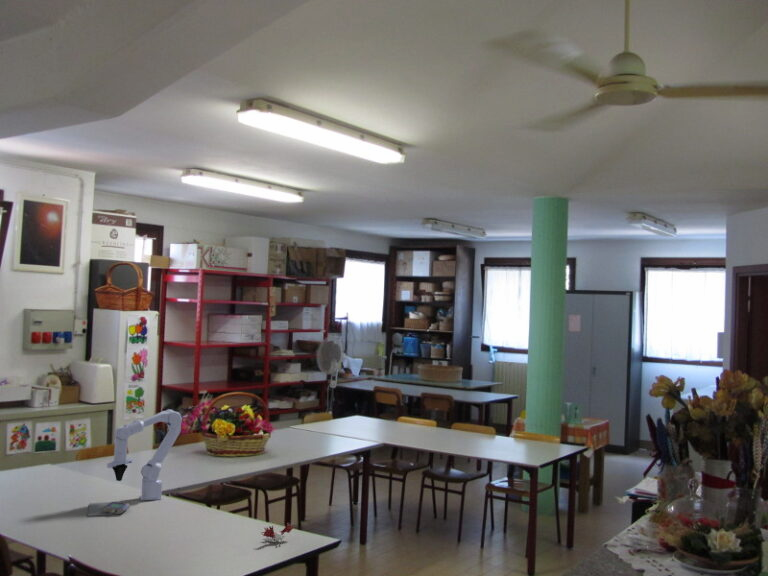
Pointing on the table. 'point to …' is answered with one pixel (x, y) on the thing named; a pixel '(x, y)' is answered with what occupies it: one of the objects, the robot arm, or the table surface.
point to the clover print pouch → (116, 507)
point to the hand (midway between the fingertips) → (118, 480)
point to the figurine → (276, 535)
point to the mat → (98, 509)
